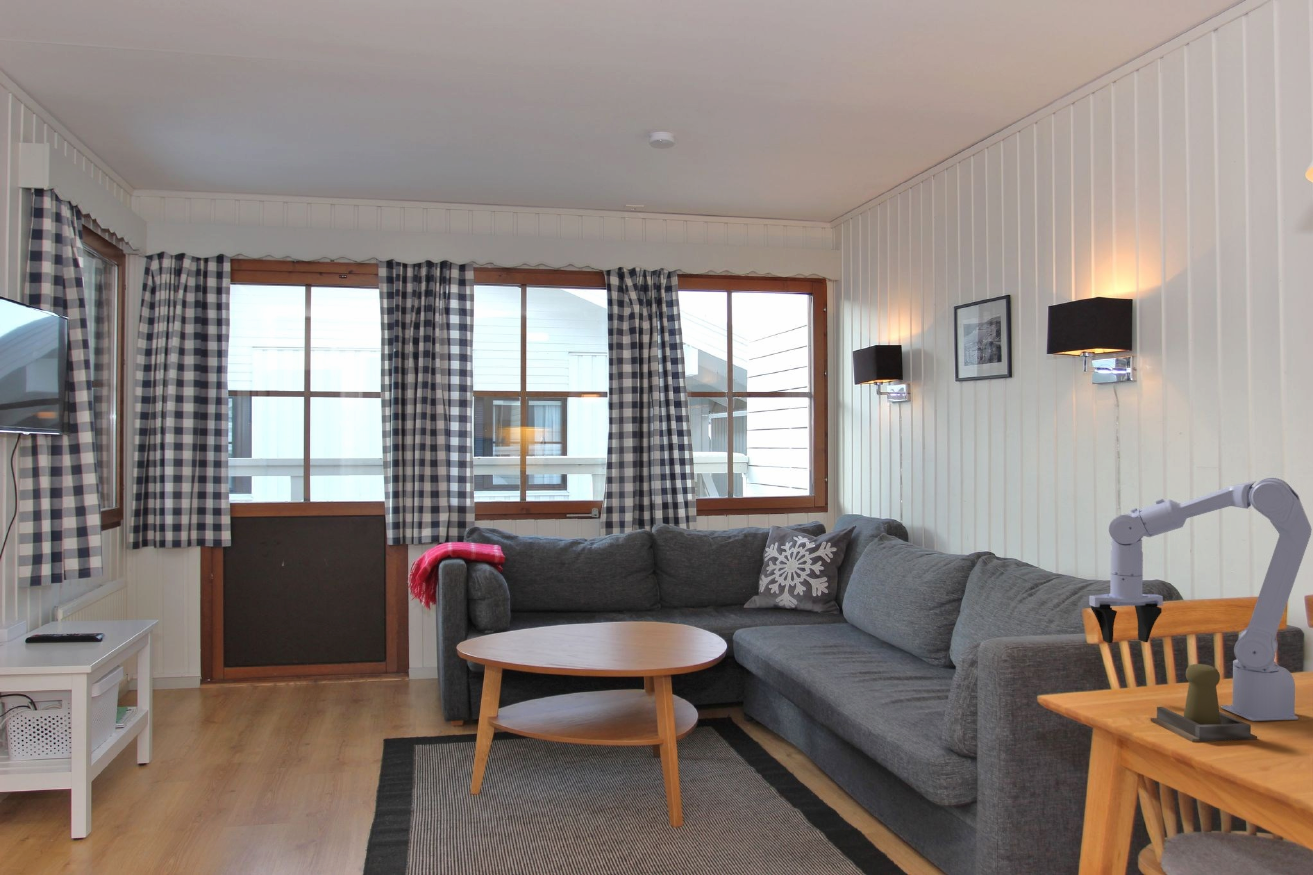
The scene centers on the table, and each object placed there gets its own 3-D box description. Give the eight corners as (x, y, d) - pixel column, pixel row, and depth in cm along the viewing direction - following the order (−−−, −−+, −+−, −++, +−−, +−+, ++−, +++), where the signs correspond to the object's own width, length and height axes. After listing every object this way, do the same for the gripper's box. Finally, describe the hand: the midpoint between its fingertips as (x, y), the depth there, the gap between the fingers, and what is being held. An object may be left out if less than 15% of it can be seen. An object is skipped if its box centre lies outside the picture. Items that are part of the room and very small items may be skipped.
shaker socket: (1211, 718, 167) (1211, 705, 167) (1257, 739, 156) (1257, 724, 156) (1150, 720, 166) (1150, 707, 166) (1192, 741, 155) (1192, 727, 155)
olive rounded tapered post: (1227, 734, 157) (1228, 670, 157) (1189, 731, 159) (1190, 668, 158) (1213, 723, 163) (1214, 662, 163) (1177, 720, 165) (1177, 660, 164)
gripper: (1147, 570, 188) (1146, 636, 188) (1080, 571, 186) (1080, 637, 186) (1170, 576, 180) (1169, 644, 181) (1101, 577, 179) (1100, 645, 179)
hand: (1125, 641), depth 183 cm, fingers open, 7 cm apart
